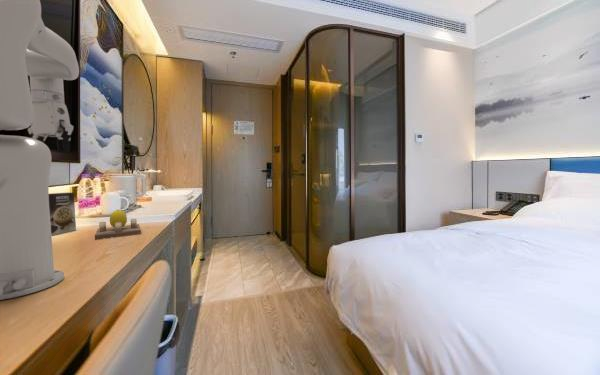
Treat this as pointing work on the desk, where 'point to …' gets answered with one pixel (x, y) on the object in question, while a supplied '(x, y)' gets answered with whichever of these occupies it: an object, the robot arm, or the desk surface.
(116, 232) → the peg cradle
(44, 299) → the desk surface
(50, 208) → the coffee box
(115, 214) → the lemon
